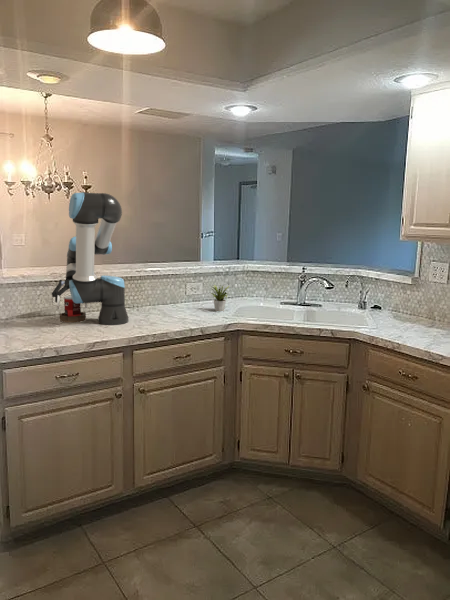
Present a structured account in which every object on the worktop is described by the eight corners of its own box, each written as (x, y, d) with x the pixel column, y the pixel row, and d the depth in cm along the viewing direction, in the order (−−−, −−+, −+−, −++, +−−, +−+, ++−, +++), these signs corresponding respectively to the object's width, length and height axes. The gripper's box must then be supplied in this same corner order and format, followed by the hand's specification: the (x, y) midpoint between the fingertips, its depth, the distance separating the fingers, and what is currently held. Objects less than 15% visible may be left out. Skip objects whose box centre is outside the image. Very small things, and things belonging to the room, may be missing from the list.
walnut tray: (91, 319, 261) (90, 313, 261) (72, 323, 250) (72, 317, 250) (72, 316, 267) (72, 310, 267) (54, 320, 256) (54, 314, 256)
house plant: (202, 312, 283) (202, 283, 280) (208, 307, 296) (208, 280, 293) (226, 313, 280) (227, 284, 277) (231, 309, 293) (232, 281, 290)
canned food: (66, 316, 262) (65, 295, 260) (82, 316, 263) (81, 295, 261) (63, 319, 255) (62, 298, 253) (79, 319, 255) (78, 298, 253)
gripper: (98, 277, 273) (97, 310, 261) (49, 278, 268) (47, 311, 256) (97, 269, 267) (96, 302, 255) (47, 269, 262) (45, 303, 250)
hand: (72, 307), depth 255 cm, fingers open, 13 cm apart
